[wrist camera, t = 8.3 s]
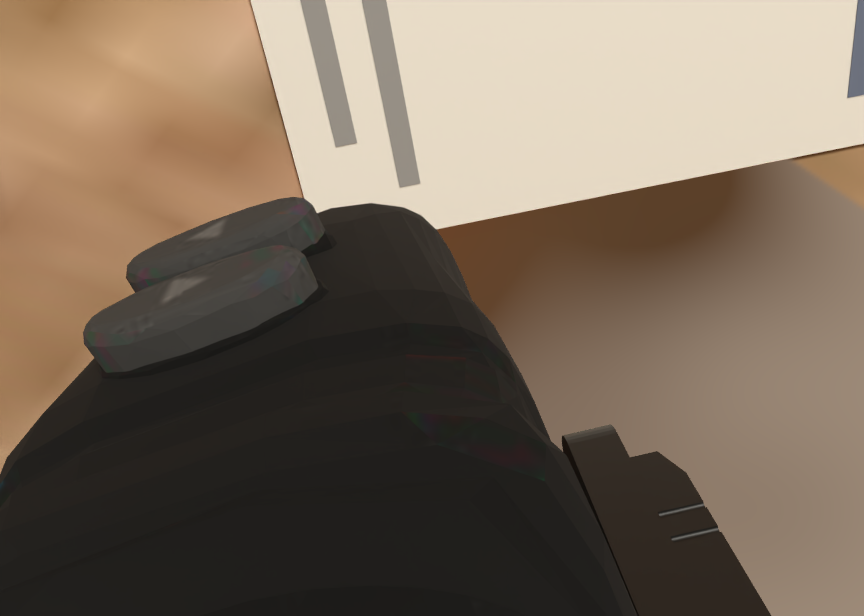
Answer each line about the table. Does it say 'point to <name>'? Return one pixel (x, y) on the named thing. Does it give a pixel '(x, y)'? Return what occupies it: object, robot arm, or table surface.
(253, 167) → the table surface
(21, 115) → the table surface
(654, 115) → the letter
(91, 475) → the controller
